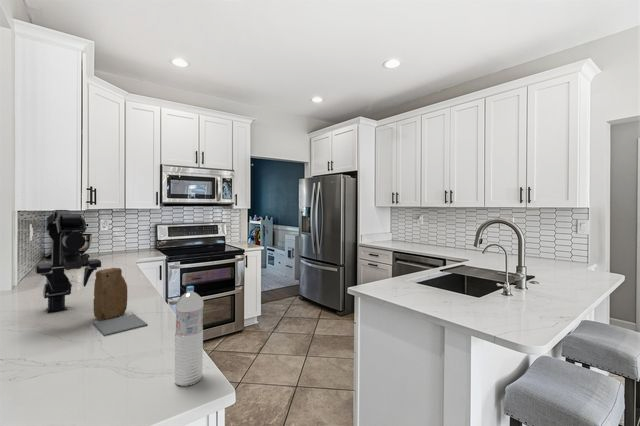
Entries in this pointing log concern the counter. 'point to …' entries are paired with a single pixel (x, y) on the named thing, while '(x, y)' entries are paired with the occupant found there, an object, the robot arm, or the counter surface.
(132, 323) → the mat
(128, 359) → the counter surface
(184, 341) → the water bottle
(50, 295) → the robot arm
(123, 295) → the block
